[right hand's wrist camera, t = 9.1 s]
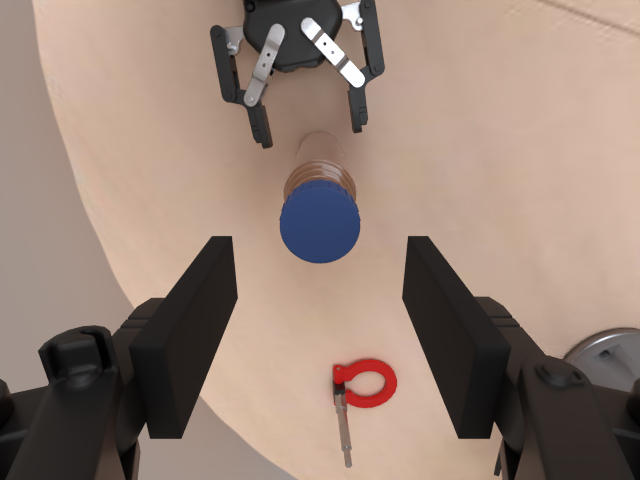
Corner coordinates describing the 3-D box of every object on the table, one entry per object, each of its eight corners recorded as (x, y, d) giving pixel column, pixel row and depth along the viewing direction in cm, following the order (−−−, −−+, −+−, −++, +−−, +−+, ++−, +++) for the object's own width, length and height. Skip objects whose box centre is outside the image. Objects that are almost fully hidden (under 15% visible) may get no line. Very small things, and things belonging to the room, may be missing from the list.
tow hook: (396, 355, 52) (332, 359, 52) (425, 434, 40) (341, 439, 40) (393, 400, 55) (333, 404, 55) (419, 485, 43) (341, 490, 43)
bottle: (307, 125, 40) (291, 164, 18) (348, 141, 41) (381, 198, 19) (292, 166, 42) (261, 249, 20) (331, 181, 43) (344, 278, 20)
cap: (297, 167, 19) (294, 174, 18) (370, 195, 20) (374, 204, 18) (272, 235, 21) (267, 248, 19) (340, 260, 21) (342, 274, 20)
